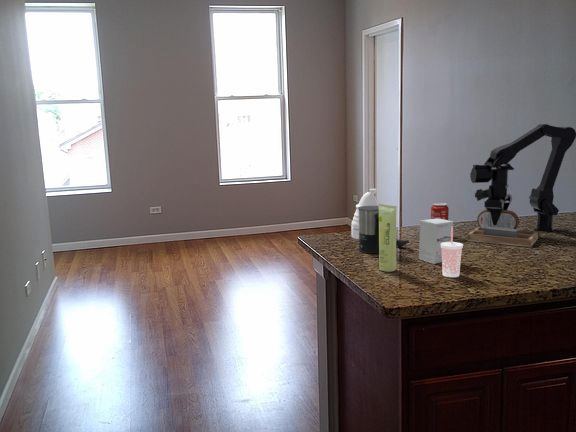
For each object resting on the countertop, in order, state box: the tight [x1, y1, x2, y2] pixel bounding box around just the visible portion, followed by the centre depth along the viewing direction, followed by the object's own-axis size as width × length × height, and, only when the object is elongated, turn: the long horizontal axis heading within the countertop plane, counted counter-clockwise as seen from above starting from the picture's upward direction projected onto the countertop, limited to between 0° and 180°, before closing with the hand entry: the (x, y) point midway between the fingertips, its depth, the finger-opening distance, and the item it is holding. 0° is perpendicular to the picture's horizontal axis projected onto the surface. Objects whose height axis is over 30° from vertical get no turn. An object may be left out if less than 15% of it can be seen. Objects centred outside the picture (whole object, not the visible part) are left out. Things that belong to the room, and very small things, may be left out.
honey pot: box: [350, 188, 380, 240], centre depth 217 cm, size 13×13×18 cm
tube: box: [378, 203, 397, 273], centre depth 171 cm, size 6×5×20 cm
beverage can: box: [430, 202, 450, 220], centre depth 216 cm, size 6×6×12 cm
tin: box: [476, 208, 520, 229], centre depth 221 cm, size 15×3×8 cm, turn 58°
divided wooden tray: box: [467, 226, 539, 248], centre depth 207 cm, size 14×21×2 cm
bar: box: [483, 226, 520, 238], centre depth 205 cm, size 11×4×4 cm, turn 53°
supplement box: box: [418, 218, 454, 265], centre depth 181 cm, size 7×7×13 cm
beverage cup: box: [441, 226, 464, 278], centre depth 165 cm, size 6×6×14 cm
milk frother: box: [358, 206, 410, 254], centre depth 196 cm, size 14×16×15 cm
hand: (497, 223), depth 221 cm, fingers open, 9 cm apart
